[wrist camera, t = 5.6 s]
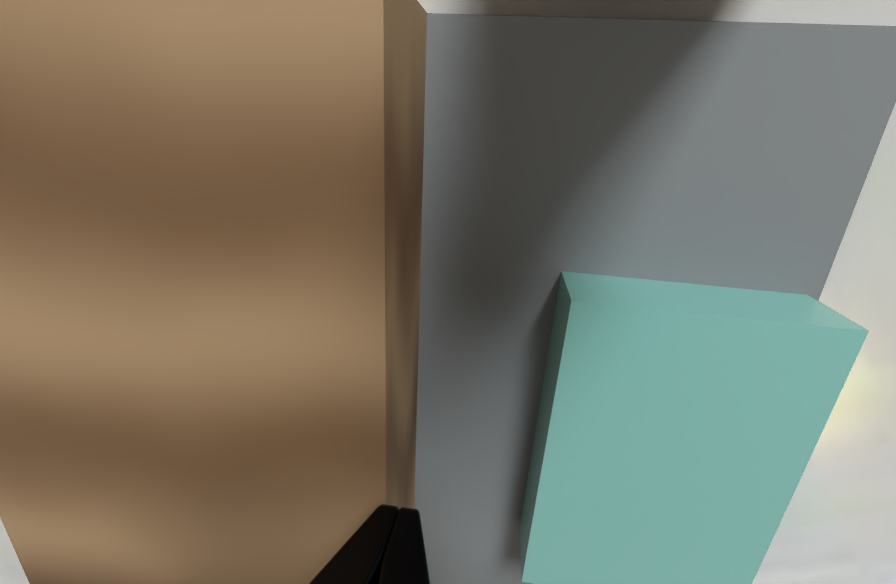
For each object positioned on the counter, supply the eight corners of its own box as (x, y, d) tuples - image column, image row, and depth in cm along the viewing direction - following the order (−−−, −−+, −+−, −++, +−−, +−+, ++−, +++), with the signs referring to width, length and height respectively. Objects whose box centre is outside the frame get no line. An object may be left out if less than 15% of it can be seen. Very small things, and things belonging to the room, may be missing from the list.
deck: (413, 603, 17) (387, 733, 14) (156, 560, 19) (68, 670, 15) (429, 16, 10) (383, -44, 6) (-1, 4, 11) (-254, -54, 7)
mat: (677, 646, 16) (680, 655, 16) (413, 603, 17) (411, 610, 17) (911, 29, 9) (924, 27, 9) (429, 16, 10) (427, 13, 10)
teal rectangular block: (521, 581, 13) (519, 523, 15) (736, 617, 12) (706, 552, 14) (571, 300, 10) (561, 271, 11) (868, 330, 9) (807, 294, 11)
